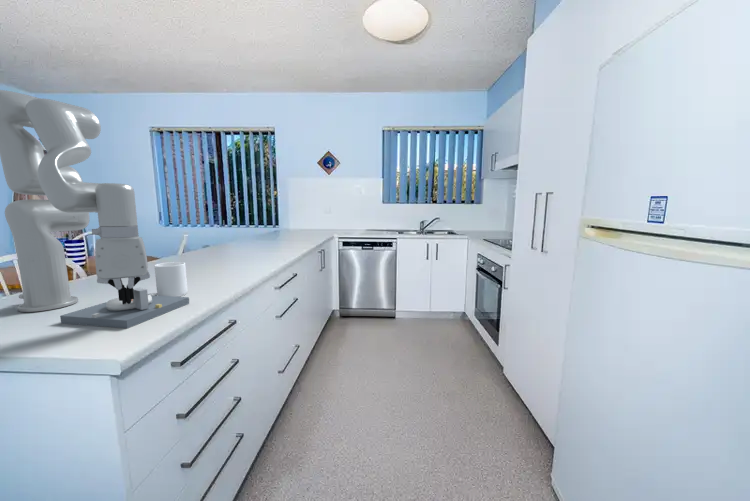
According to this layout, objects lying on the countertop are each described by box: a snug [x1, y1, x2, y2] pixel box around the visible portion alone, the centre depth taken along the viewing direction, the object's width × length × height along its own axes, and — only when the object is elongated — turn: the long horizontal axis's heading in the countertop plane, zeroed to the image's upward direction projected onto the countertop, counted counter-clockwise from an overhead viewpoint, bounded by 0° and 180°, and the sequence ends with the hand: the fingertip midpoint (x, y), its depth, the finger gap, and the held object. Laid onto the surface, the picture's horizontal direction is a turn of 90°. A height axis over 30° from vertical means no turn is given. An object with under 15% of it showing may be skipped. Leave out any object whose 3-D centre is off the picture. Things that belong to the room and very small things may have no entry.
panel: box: [59, 294, 190, 329], centre depth 87 cm, size 20×20×3 cm
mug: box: [153, 261, 188, 297], centre depth 105 cm, size 9×12×11 cm
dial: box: [105, 287, 152, 311], centre depth 86 cm, size 13×10×5 cm
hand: (127, 302), depth 81 cm, fingers closed
